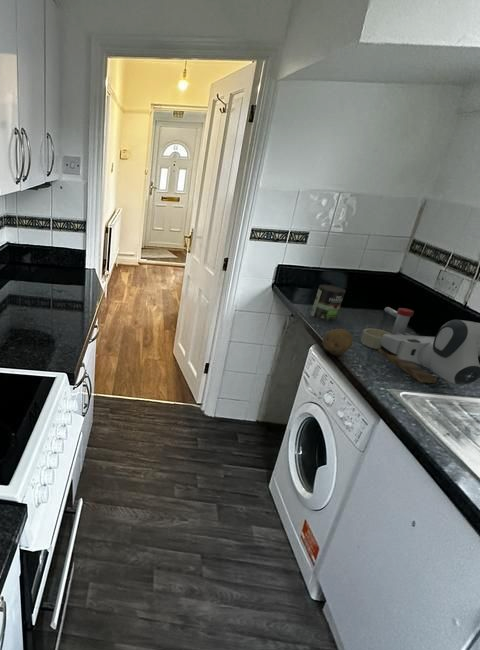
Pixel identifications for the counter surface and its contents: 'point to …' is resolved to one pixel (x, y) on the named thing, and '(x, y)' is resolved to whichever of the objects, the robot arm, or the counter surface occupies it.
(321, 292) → the coffee can
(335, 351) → the natural sponge
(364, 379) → the counter surface
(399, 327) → the tap
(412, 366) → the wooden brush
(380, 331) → the basin
